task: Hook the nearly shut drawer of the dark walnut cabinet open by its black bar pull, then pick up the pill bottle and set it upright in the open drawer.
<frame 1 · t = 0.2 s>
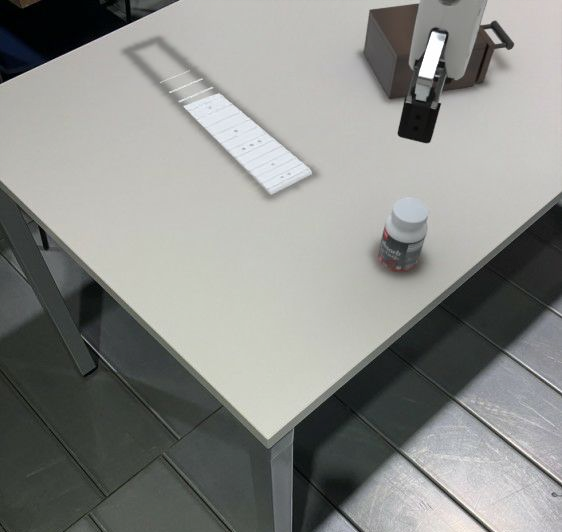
hand: (425, 108, 61), 29 cm above the table, tool pointing down, fingers open, 9 cm apart
pill bottle: (396, 261, 89), on the table
cabinet: (416, 74, 112), on the table
drawer: (451, 46, 109), point 4 cm above the table, slide at 1.0 cm
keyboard: (211, 114, 105), on the table
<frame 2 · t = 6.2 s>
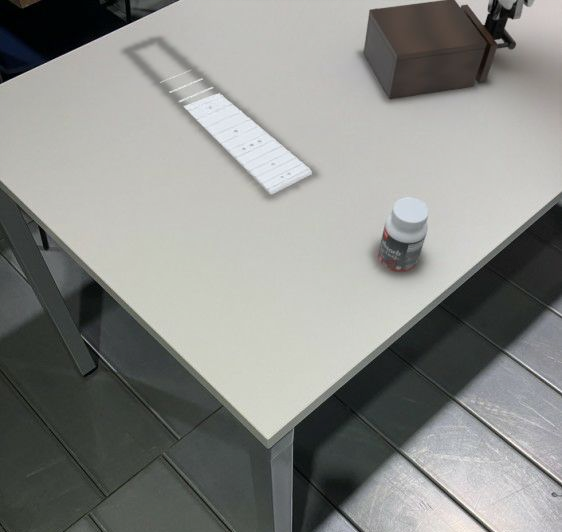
hand: (490, 37, 110), 5 cm above the table, tool pointing down, fingers closed
drawer: (453, 46, 109), point 4 cm above the table, slide at 1.4 cm
everything else where it was.
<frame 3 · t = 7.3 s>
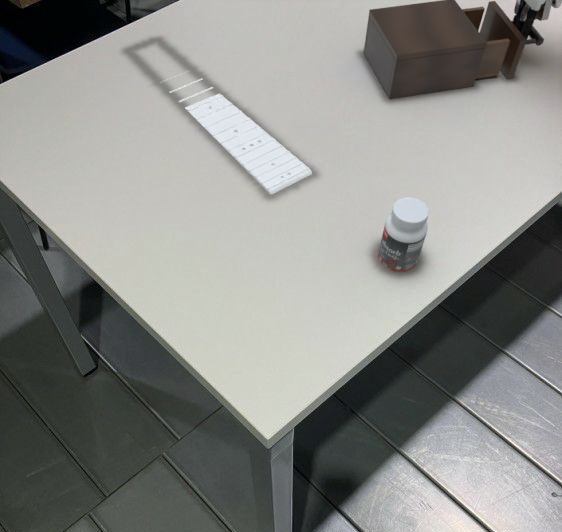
hand: (517, 38, 111), 4 cm above the table, tool pointing down, fingers closed
drawer: (481, 42, 110), point 4 cm above the table, slide at 6.8 cm, touching gripper
everything else where it was.
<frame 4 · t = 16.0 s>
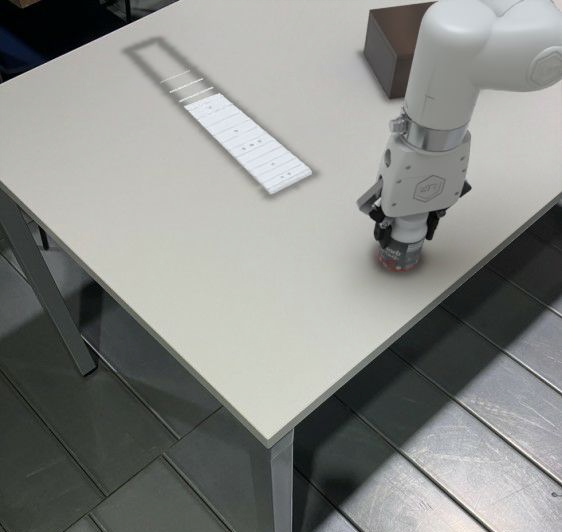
hand: (403, 236, 85), 5 cm above the table, tool pointing down, fingers closed on pill bottle, 5 cm apart
pill bottle: (396, 261, 89), on the table, touching gripper
drawer: (498, 40, 110), point 4 cm above the table, slide at 10.1 cm
everything else where it was.
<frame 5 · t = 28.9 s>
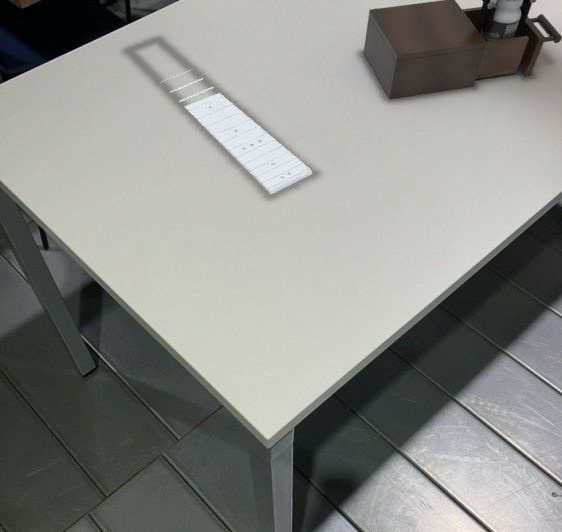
hand: (500, 24, 108), 7 cm above the table, tool pointing down, fingers closed on pill bottle, 5 cm apart
pill bottle: (491, 52, 112), point 2 cm above the table, touching gripper
everything else where it was.
when the fingers open (9 cm above the table, at t = 33.4 s): pill bottle drops 2 cm, resting on drawer.
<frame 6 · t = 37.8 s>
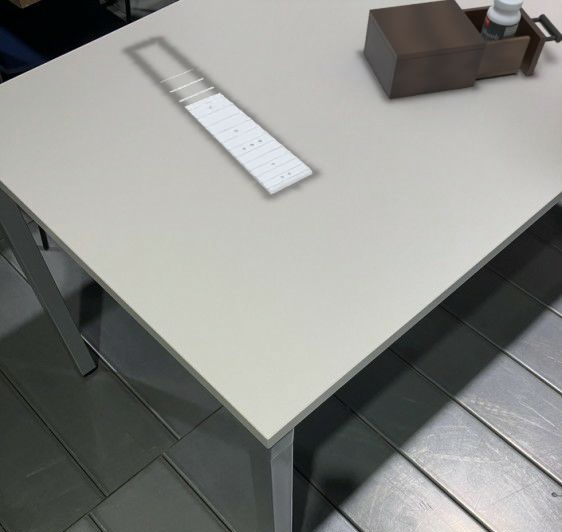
pill bottle: (490, 54, 112), point 2 cm above the table, touching drawer
drawer: (500, 39, 111), point 4 cm above the table, slide at 10.5 cm, touching pill bottle
everything else where it was.
at the end: drawer slide at 10.5 cm; pill bottle inside the target area in the drawer (1.6 cm from its centre), point 1.9 cm above the cabinet's base; the gripper is holding nothing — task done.
